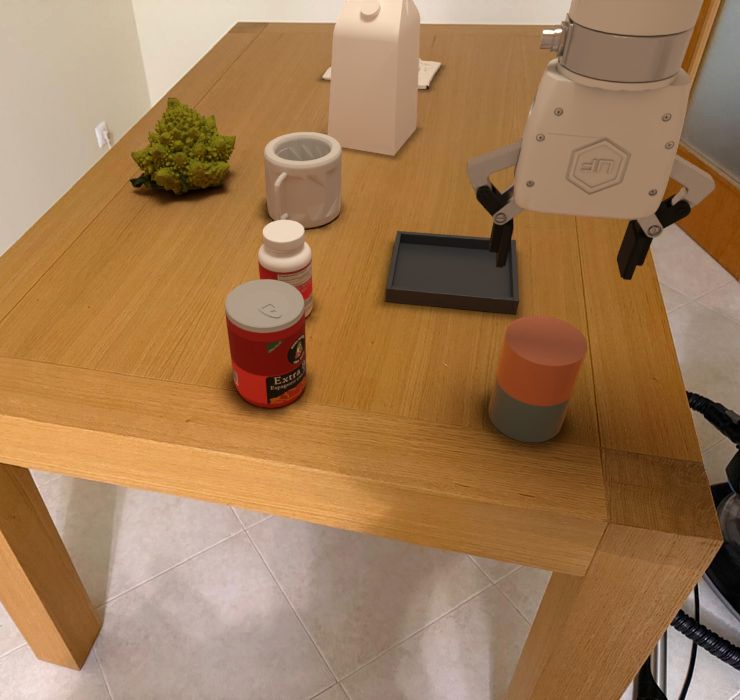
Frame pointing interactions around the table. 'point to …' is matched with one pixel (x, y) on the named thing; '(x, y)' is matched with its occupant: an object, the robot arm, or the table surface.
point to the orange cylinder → (541, 360)
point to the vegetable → (183, 152)
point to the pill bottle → (287, 258)
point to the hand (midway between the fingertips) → (560, 264)
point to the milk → (375, 75)
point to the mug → (303, 178)
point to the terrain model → (424, 75)
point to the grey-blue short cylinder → (525, 417)
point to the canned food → (267, 341)
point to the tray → (451, 273)
